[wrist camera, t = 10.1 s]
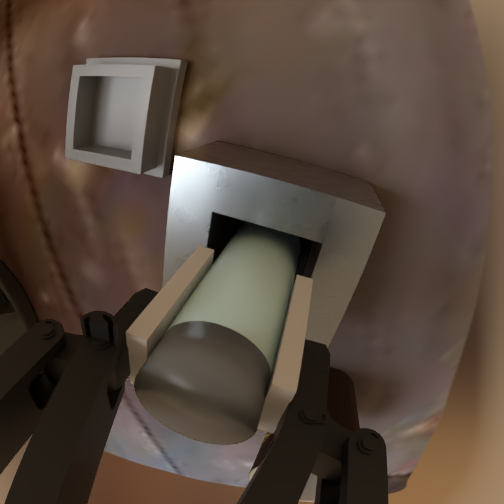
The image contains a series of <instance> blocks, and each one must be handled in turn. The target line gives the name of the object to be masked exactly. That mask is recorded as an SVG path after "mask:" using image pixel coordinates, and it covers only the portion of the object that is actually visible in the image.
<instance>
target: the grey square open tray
mask: <svg viewBox="0 0 504 504" xmlns="http://www.w3.org/2000/svg"><path fill="white" fill-rule="evenodd" d="M187 63H188V61H184V60H177V59H161V58H87V62H86V65H73V71H72V78H71V85H70V94H69V103H68V114H67V127H66V145H65V159H70V160H75V161H80V162H85V163H90V164H95V165H100V166H104V167H109V168H114V169H118V170H123V171H127V172H132V173H136V174H142V173H143V174H147V175H152V176H156V177H160V178H164V177H166V176H168V175H169V173H170V165H171V158H172V150H173V143H174V136H175V130H176V123H177V117H178V111H179V105H180V99H181V94H182V88H183V83H184V78H185V73H186V67H187Z"/></svg>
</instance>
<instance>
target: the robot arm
mask: <svg viewBox="0 0 504 504" xmlns="http://www.w3.org/2000/svg"><path fill="white" fill-rule="evenodd" d="M213 256H214V250H213V249H210V248H206V247H203V246H200V245H199V247H198V248H197V249H196V250H195V251H194V252H193V253H192V255H191V256H190V257H189V258H188V259H187V260H186V261H185V263H184V264H183V265H182V266H181V267H180V268H179V269H178V271H177V272H176V273H175V274H174V275H173V276H172V278H171V279H170V280H169V281H168V282H167V283H166V285H165V286H164V287H163V288H162V289H161V290H160V292H159V293H158V292H155V291H152V290H150V289H147V288H145V289H143V290H141V291H139V292H137V293H135V294H134V295H133V296H132V297H131V298H130V299H129V301H128V302H127V303H126V304H125V305H124V306H123V308H121V309H120V310H119V311H118V312H117V313H116V315H115V316H113V315H112V314H109V313H107V312H104V311H93V312H89V313H87V314H85V315H84V316H83V317H82V318H81V319H80V320H81V326H82V331H83V335H76V334H71V333H66V332H64V329H63V326H62V325H61V324H60V323H59V322H58V321H55V320H49V319H46V320H42V321H40V322H38V321H37V318H36V316H35V313H34V311H33V308H32V306H31V304H30V302H29V300H28V298H27V297H26V295H25V293H24V291H23V290H22V288H21V287H20V285H19V283H18V282H17V281H16V279H15V278H14V276H13V275H12V274H11V273H10V271H9V270H8V269H7V268H6V267H5V266H4V265H3V264H2V263H1V262H0V474H1V473H2V472H3V470H4V469H5V468H6V466H7V465H8V464H9V463H10V461H11V460H12V459H13V458H14V456H15V455H16V454H17V452H18V451H19V450H20V449H21V447H22V446H23V445H24V444H25V442H26V441H27V440H28V439H29V438H30V436H31V435H32V434H33V435H32V437H31V439H30V441H29V444H28V446H27V448H26V451H25V453H24V455H23V458H22V460H21V462H20V465H19V467H18V470H17V472H16V475H15V477H14V480H13V482H12V485H11V488H10V490H9V493H8V496H7V498H6V501H5V504H87V503H88V500H89V496H90V493H91V489H92V486H93V483H94V479H95V476H96V473H97V470H98V467H99V463H100V460H101V457H102V454H103V451H104V448H105V445H106V442H107V439H108V436H109V433H110V430H111V427H112V424H113V421H114V418H115V416H116V413H117V410H118V407H119V404H120V402H121V399H122V396H123V393H124V389H125V384H124V382H125V381H126V379H127V378H128V376H129V375H130V381H131V383H132V384H134V381H135V377H136V375H137V373H138V372H139V370H140V369H141V368H142V366H143V365H144V363H145V362H146V360H147V359H148V357H149V356H150V354H151V353H152V351H153V350H154V348H155V347H156V345H157V344H158V343H159V341H160V340H161V338H162V337H163V335H164V334H165V332H166V331H167V329H168V328H169V327H170V325H171V324H172V322H173V321H174V319H175V318H176V316H177V315H178V313H179V312H180V311H181V309H182V308H183V306H184V305H185V303H186V302H187V301H188V299H189V298H190V296H191V295H192V293H193V292H194V291H195V289H196V288H197V286H198V285H199V283H200V282H201V281H202V279H203V278H204V276H205V275H206V274H207V272H208V271H209V269H210V268H211V266H212V262H213ZM312 284H313V279H311V278H307V277H304V276H300V275H297V277H296V280H295V283H294V286H293V289H292V292H291V296H290V300H289V305H288V309H287V313H286V317H285V322H284V326H283V330H282V334H281V338H280V342H279V346H278V350H277V354H276V358H275V362H274V366H273V370H272V374H271V378H270V382H269V386H268V389H267V393H266V397H265V401H264V406H263V409H262V413H261V417H260V420H259V424H258V428H257V429H258V430H262V431H266V432H270V433H274V431H275V430H276V431H275V436H274V439H273V440H272V442H271V444H270V445H269V447H268V449H267V450H266V452H265V455H264V457H263V459H262V461H261V462H260V464H259V466H258V468H257V470H256V471H255V473H254V475H253V477H252V479H251V480H250V482H249V484H248V485H247V487H246V489H245V491H244V492H243V494H242V496H241V497H240V499H239V501H238V502H237V504H298V502H299V500H300V498H301V495H302V493H303V491H304V488H305V486H306V484H307V481H308V479H309V477H310V474H311V473H312V474H314V475H316V476H317V485H316V494H315V503H314V504H388V476H387V456H386V445H385V442H384V439H383V438H382V437H381V435H380V434H379V433H377V432H376V431H374V430H371V429H368V428H360V429H358V430H356V431H354V432H352V431H350V430H348V429H347V428H345V427H343V426H341V425H339V424H338V423H336V422H335V421H334V420H333V419H332V418H331V416H330V415H329V412H328V410H327V395H328V382H329V365H330V353H329V351H328V348H327V346H326V344H322V343H318V342H315V341H311V340H308V339H305V336H306V329H307V322H308V315H309V307H310V300H311V292H312Z"/></svg>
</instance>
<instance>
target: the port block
mask: <svg viewBox="0 0 504 504" xmlns="http://www.w3.org/2000/svg"><path fill="white" fill-rule="evenodd" d="M385 214H386V212H385V210H384V208H383V206H382V204H381V202H380V200H379V199H378V197H377V195H376V193H375V191H374V189H373V187H372V185H371V184H370V182H367V181H364V180H361V179H358V178H354V177H351V176H348V175H345V174H342V173H339V172H335V171H332V170H329V169H325V168H322V167H318V166H315V165H312V164H308V163H304V162H301V161H297V160H294V159H290V158H286V157H282V156H278V155H275V154H271V153H267V152H263V151H258V150H254V149H250V148H246V147H242V146H237V145H233V144H228V143H224V142H219V141H215V142H212V143H209V144H206V145H203V146H200V147H197V148H194V149H191V150H189V151H186V152H183V153H180V154H177V155H175V159H174V166H173V174H172V182H171V190H170V199H169V209H168V219H167V229H166V241H165V253H164V268H163V284H162V288H163V287H164V286H165V285H166V283H167V282H168V281H169V280H170V279H171V278H172V276H173V275H174V274H175V273H176V272H177V271H178V269H179V268H180V267H181V266H182V265H183V264H184V263H185V261H186V260H187V259H188V258H189V257H190V256H191V255H192V253H193V252H194V251H195V250H196V249H197V248H198V247H199V245H200V246H203V247H206V248H210V249H213V250H214V256H213V262H212V265H213V264H214V262H215V261H216V259H217V258H218V257H219V255H220V254H221V252H222V251H223V250H224V248H225V247H226V245H227V244H228V243H229V241H230V240H231V238H232V237H233V233H234V228H235V223H236V218H237V219H240V220H244V221H247V222H251V223H254V224H258V225H261V226H265V227H268V228H272V229H275V230H279V231H282V232H286V233H289V234H293V235H296V236H299V237H303V238H306V239H310V240H313V241H314V242H313V245H312V248H311V251H310V254H309V257H308V260H307V263H306V266H305V269H304V272H303V275H302V276H304V277H307V278H311V279H313V284H312V292H311V300H310V307H309V315H308V322H307V329H306V336H305V339H308V340H311V341H315V342H318V343H322V344H326V346H327V348H328V347H329V345H330V343H331V340H332V338H333V336H334V334H335V332H336V330H337V328H338V326H339V324H340V322H341V320H342V318H343V315H344V313H345V311H346V309H347V307H348V305H349V302H350V300H351V298H352V296H353V293H354V291H355V289H356V287H357V284H358V282H359V280H360V277H361V275H362V273H363V270H364V268H365V266H366V263H367V261H368V258H369V256H370V253H371V251H372V248H373V246H374V243H375V241H376V238H377V236H378V233H379V230H380V228H381V225H382V222H383V220H384V217H385ZM296 277H297V274H295V279H294V283H295V280H296ZM294 283H293V286H294ZM292 289H293V288H292Z"/></svg>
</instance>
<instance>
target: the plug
mask: <svg viewBox="0 0 504 504" xmlns="http://www.w3.org/2000/svg"><path fill="white" fill-rule="evenodd" d="M300 249H301V247H300V240H299V237H298V236H296V235H293V234H289V233H286V232H282V231H279V230H275V229H272V228H268V227H265V226H261V225H258V224H254V223H251V222H247V221H245V222H244V223H243V224H242V225H241V226H240V227H239V229H238V230H237V232H236V233H235V234H234V236H233V237H232V238H231V240H230V241H229V243H228V244H227V245H226V247H225V248H224V250H223V251H222V252H221V254H220V255H219V257H218V258H217V259H216V261H215V262H214V264H213V265H212V266H211V268H210V269H209V271H208V272H207V274H206V275H205V276H204V278H203V279H202V281H201V282H200V283H199V285H198V286H197V288H196V289H195V291H194V292H193V293H192V295H191V296H190V298H189V299H188V301H187V302H186V303H185V305H184V306H183V308H182V309H181V311H180V312H179V313H178V315H177V316H176V318H175V319H174V321H173V322H172V324H171V325H170V327H169V328H168V329H167V331H166V332H165V334H164V335H163V337H162V338H161V340H160V341H159V343H158V344H157V345H156V347H155V348H154V350H153V351H152V353H151V354H150V356H149V357H148V359H147V360H146V362H145V363H144V365H143V366H142V368H141V369H140V370H139V372H138V373H137V375H136V377H135V381H134V387H135V392H136V394H137V397H138V399H139V400H140V402H141V403H142V405H143V406H144V407H145V409H146V410H147V411H148V412H149V413H150V414H151V415H152V416H153V417H154V418H156V419H157V420H158V421H159V422H161V423H162V424H163V425H165V426H166V427H168V428H170V429H171V430H173V431H175V432H177V433H179V434H181V435H183V436H186V437H188V438H191V439H194V440H197V441H201V442H205V443H210V444H219V445H229V444H237V443H241V442H243V441H246V440H248V439H249V438H251V437H252V436H253V435H254V434H255V432H256V431H257V428H258V424H259V420H260V417H261V413H262V409H263V406H264V401H265V397H266V393H267V389H268V386H269V382H270V378H271V374H272V370H273V366H274V362H275V358H276V354H277V350H278V346H279V342H280V338H281V334H282V330H283V326H284V322H285V317H286V313H287V309H288V305H289V300H290V296H291V292H292V288H293V283H294V279H295V274H296V269H297V265H298V260H299V255H300Z"/></svg>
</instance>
